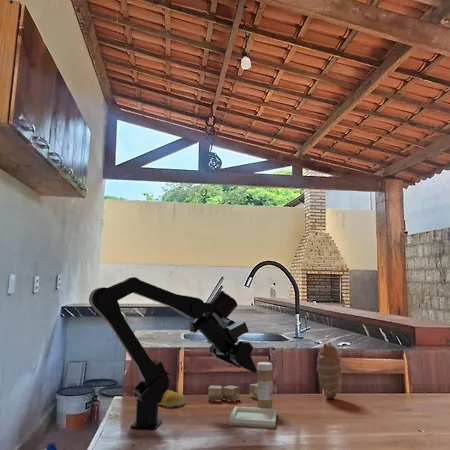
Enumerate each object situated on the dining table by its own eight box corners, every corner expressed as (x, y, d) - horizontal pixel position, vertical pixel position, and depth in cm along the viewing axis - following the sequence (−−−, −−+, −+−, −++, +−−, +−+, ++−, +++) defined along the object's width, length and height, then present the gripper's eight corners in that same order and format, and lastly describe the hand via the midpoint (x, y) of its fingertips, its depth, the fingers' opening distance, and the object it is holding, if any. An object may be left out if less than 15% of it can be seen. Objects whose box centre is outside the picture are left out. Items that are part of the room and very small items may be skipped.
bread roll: (171, 409, 120) (172, 395, 121) (151, 404, 126) (152, 390, 126) (191, 404, 127) (191, 390, 127) (171, 399, 132) (171, 386, 133)
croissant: (323, 394, 140) (321, 340, 143) (345, 397, 136) (343, 342, 139) (313, 399, 133) (312, 342, 136) (336, 403, 128) (334, 344, 132)
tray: (275, 427, 104) (275, 421, 104) (229, 425, 105) (229, 418, 106) (276, 414, 115) (276, 408, 116) (234, 412, 117) (234, 406, 117)
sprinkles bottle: (265, 407, 123) (264, 361, 125) (276, 410, 119) (275, 363, 122) (254, 409, 120) (253, 362, 122) (264, 413, 117) (264, 364, 119)
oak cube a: (220, 401, 129) (220, 388, 130) (208, 401, 130) (208, 388, 130) (222, 398, 133) (222, 385, 134) (210, 398, 134) (210, 385, 134)
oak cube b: (232, 402, 129) (232, 389, 130) (222, 400, 131) (222, 387, 132) (239, 399, 132) (239, 386, 133) (229, 397, 134) (229, 385, 135)
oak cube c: (266, 397, 135) (266, 385, 136) (257, 399, 133) (257, 386, 133) (258, 395, 138) (258, 383, 139) (249, 397, 136) (249, 384, 136)
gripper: (246, 312, 112) (281, 352, 115) (218, 310, 128) (249, 344, 131) (220, 343, 107) (257, 383, 110) (195, 336, 124) (227, 372, 126)
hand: (248, 369), depth 119 cm, fingers open, 9 cm apart
